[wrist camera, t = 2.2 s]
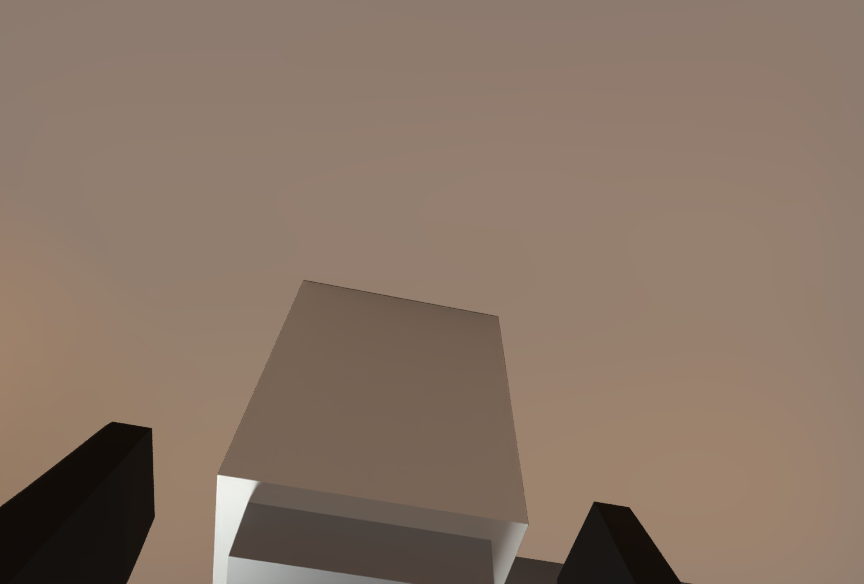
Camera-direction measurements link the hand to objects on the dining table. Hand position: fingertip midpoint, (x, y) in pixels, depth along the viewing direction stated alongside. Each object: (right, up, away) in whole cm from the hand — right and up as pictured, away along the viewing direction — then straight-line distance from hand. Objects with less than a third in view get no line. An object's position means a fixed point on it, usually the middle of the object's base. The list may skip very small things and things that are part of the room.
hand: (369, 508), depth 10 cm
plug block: (0, +2, +3) cm, 4 cm away
